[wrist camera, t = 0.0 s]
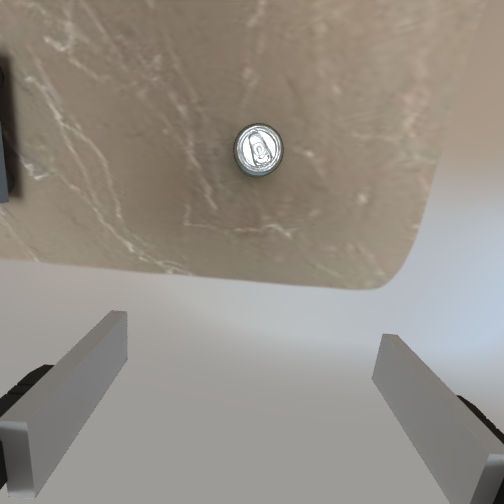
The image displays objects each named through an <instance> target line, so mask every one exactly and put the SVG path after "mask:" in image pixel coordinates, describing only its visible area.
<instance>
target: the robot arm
mask: <svg viewBox="0 0 504 504" xmlns="http://www.w3.org/2000/svg"><path fill="white" fill-rule="evenodd" d="M126 361H127V312H125V311H113V310H112V311H110V313H108V314H107V315H106V316H105V317H104V318H103V319H102V320H101V321H100V322H99V323H98V324H97V325H96V326H95V327H94V328H93V329H92V330H91V331H90V332H89V333H88V334H87V335H86V336H85V337H84V338H83V339H82V340H80V341H79V342H78V343H77V344H76V345H75V346H74V347H73V348H72V349H71V350H70V351H69V352H68V353H67V354H66V355H65V356H64V357H63V358H62V359H61V360H60V361H59V362H58V363H57V364H56V365H43V366H41V367H39V368H37V369H36V370H34V371H32V372H30V373H29V374H27V375H26V376H25V377H24V378H23V379H22V380H21V381H20V382H18V384H17V385H15V386H14V387H13V388H12V389H11V390H10V391H8V393H7V394H5V395H4V396H3V397H1V398H0V489H1V488H2V487H3V486H4V484H5V483H7V490H8V497H18V498H36V497H37V495H38V494H39V492H40V490H41V489H42V487H43V486H44V484H45V483H46V482H47V480H48V478H49V477H50V475H51V474H52V472H53V471H54V469H55V468H56V467H57V465H58V463H59V462H60V460H61V459H62V457H63V456H64V454H65V453H66V451H67V450H68V448H69V447H70V445H71V444H72V442H73V441H74V439H75V438H76V436H77V435H78V433H79V432H80V430H81V429H82V427H83V426H84V424H85V423H86V421H87V420H88V418H89V417H90V415H91V414H92V412H93V411H94V409H95V408H96V406H97V405H98V403H99V402H100V400H101V399H102V397H103V396H104V394H105V393H106V391H107V390H108V388H109V386H110V385H111V384H112V382H113V381H114V379H115V378H116V376H117V374H118V373H119V372H120V370H121V369H122V367H123V366H124V364H125V363H126ZM372 380H373V381H374V383H375V385H376V386H377V388H378V390H379V391H380V393H381V394H382V396H383V397H384V399H385V401H386V402H387V404H388V405H389V407H390V408H391V410H392V412H393V413H394V415H395V416H396V418H397V420H398V421H399V423H400V424H401V426H402V427H403V429H404V431H405V432H406V434H407V436H408V437H409V439H410V440H411V442H412V444H413V445H414V447H415V448H416V450H417V451H418V453H419V455H420V456H421V458H422V459H423V461H424V462H425V464H426V466H427V467H428V469H429V471H430V472H431V474H432V475H433V477H434V478H435V480H436V482H437V483H438V485H439V486H440V488H441V490H442V491H443V493H444V494H445V496H446V497H447V499H448V500H449V502H450V504H504V434H503V433H502V432H501V431H500V430H499V429H496V426H495V425H494V424H493V423H492V422H491V421H490V420H489V419H486V416H484V414H483V413H481V411H480V410H479V409H478V408H477V407H476V406H475V405H473V404H472V403H470V402H469V401H467V400H466V399H464V398H463V397H461V396H459V395H455V394H454V393H453V392H452V391H451V390H450V389H449V388H448V387H447V386H446V385H445V384H444V383H443V382H442V381H441V380H440V378H439V377H437V375H436V374H435V373H434V372H432V370H431V369H430V368H429V367H428V366H427V365H426V364H425V363H424V362H423V361H422V360H421V359H420V358H419V357H418V356H417V355H416V354H415V353H414V352H413V351H412V350H411V349H410V348H409V347H408V346H407V345H406V344H405V343H404V341H402V339H401V338H400V337H399V336H398V335H393V334H383V335H382V339H381V343H380V347H379V351H378V356H377V359H376V364H375V368H374V372H373V376H372Z"/></svg>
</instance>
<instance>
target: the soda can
mask: <svg viewBox="0 0 504 504" xmlns="http://www.w3.org/2000/svg"><path fill="white" fill-rule="evenodd" d="M233 152H234V157H235V161H236V163H237V164H238V166H239V168H240V169H241V171H242V172H243V173H244V174H246V175H248V176H250V177H261V176H265V175H268V174H270V173H272V172H273V171H274V170H275V169H276V168H277V167H278V166H279V164H280V162H281V160H282V157H283V153H284V147H283V142H282V139H281V137H280V135H279V134H278V132H277V131H276V130H275V129H274V128H272V127H271V126H269V125H266V124H262V123H255V124H251V125H248V126H247V127H245V128H244V129H242V130H241V131H240V133H239V134H238V135H237V137H236V139H235V142H234V148H233Z"/></svg>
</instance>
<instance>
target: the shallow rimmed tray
mask: <svg viewBox="0 0 504 504" xmlns="http://www.w3.org/2000/svg"><path fill="white" fill-rule="evenodd" d="M3 81H4V74H3V71H2V69H1V67H0V86H1V85H2V84H3ZM13 187H14V178H13V176H12V174H11V173H10V172H9V171H7V170H5V161H4V151H3V142H2V132H1V123H0V203H5V202H9V198H8V192H10V191H11V190H12V189H13Z"/></svg>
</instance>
